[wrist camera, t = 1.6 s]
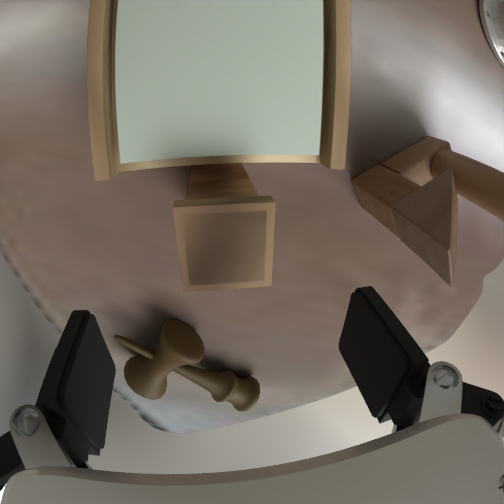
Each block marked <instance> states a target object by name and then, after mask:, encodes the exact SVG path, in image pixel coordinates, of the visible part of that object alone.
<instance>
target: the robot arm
mask: <svg viewBox="0 0 504 504" xmlns="http://www.w3.org/2000/svg"><path fill="white" fill-rule="evenodd" d="M479 10H480V17H481V22H482V26H483V29H484V32H485V35H486V38H487V40H488V42H489V45H490V47H491V49H492V51H493V52H494V54H495V56H496V57H497V59H498V60H499V62H500V63H501V64H502V65H503V67H504V0H480V2H479ZM339 350H340V353H341V355H342V357H343V359H344V361H345V362H346V364H347V366H348V368H349V370H350V372H351V374H352V376H353V378H354V380H355V382H356V384H357V386H358V388H359V390H360V392H361V394H362V396H363V398H364V400H365V402H366V404H367V406H368V408H369V410H370V412H371V414H372V416H373V417H375V418H376V417H377V419H378V421H379V423H382V422H385V421H388V420H391V419H392V421H393V423H394V426H393V430H392V433H391V434H390V435H387V436H384V437H381V438H378V439H375V440H372V441H369V442H366V443H363V444H360V445H357V446H353V447H350V448H347V449H344V450H340V451H336V452H333V453H330V454H325V455H322V456H317V457H314V458H309V459H304V460H300V461H295V462H290V463H285V464H280V465H274V466H268V467H261V468H254V469H247V470H238V471H229V472H218V473H202V474H140V473H124V472H110V471H100V470H93V469H92V468H91V466H90V465H89V463H88V462H87V461H88V454H90V455H98V456H99V455H100V449H102V448H104V445H105V437H106V429H107V422H108V414H109V407H110V401H111V395H112V389H113V384H114V378H115V372H116V369H115V364H114V362H113V359H112V357H111V355H110V353H109V350H108V348H107V346H106V343H105V341H104V338H103V336H102V334H101V331H100V329H99V326H98V323H97V321H96V318H95V316H94V315H93V314H90V312H89V311H88V310H74V311H73V312H72V313H71V315H70V318H69V320H68V322H67V324H66V327H65V329H64V331H63V334H62V336H61V339H60V341H59V344H58V346H57V348H56V349H55V351H54V354H53V356H52V359H51V361H50V364H49V367H48V369H47V372H46V375H45V378H44V381H43V384H42V387H41V389H40V393H39V396H38V399H37V402H36V405H35V406H34V405H31V404H26V405H22V406H20V407H18V408H17V409H16V410H15V411H14V412H13V414H12V415H11V418H10V421H9V428H10V431H9V432H7V433H5V434H4V435H2V436H1V437H0V504H504V401H503V399H502V398H501V397H500V396H499V395H498V394H497V393H495V392H493V391H490V390H487V389H483V388H480V387H477V386H474V385H471V384H468V383H465V382H463V381H462V375H461V373H460V371H459V370H458V369H457V368H456V367H455V366H454V365H452V364H450V363H448V362H443V361H440V362H435V363H433V364H432V365H430V364H429V363H428V361H429V360H428V358H427V357H426V355H425V354H424V353H423V351H422V350H421V348H420V347H419V346H418V344H417V343H416V342H415V340H414V339H413V338H412V336H411V335H410V334H409V332H408V331H407V330H406V328H405V327H404V326H403V325H402V323H401V322H400V321H399V319H398V318H397V317H396V315H395V314H394V313H393V312H392V310H391V309H390V308H389V307H388V305H387V304H386V303H385V302H384V300H383V299H382V298H381V297H380V295H379V294H378V293H377V292H376V290H375V289H374V288H373V287H372V286H368V287H361V288H357V289H356V290H355V292H353V293H352V295H351V298H350V302H349V307H348V311H347V315H346V318H345V322H344V326H343V330H342V334H341V337H340V341H339Z"/></svg>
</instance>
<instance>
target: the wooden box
mask: <svg viewBox="0 0 504 504" xmlns="http://www.w3.org/2000/svg"><path fill="white" fill-rule="evenodd" d="M117 8H118V0H91V2H90V11H89V24H88V41H87V99H88V117H89V131H90V142H91V151H92V160H93V168H94V175H95V181H100V180H107V179H111V178H112V177H113V176H114V175H115V174H116V173H117V172H122V171H131V170H140V169H150V168H161V167H172V166H186V165H202V164H222V163H254V162H304V163H321V164H323V165H325V166H326V167H328V168H330V169H343V170H345V159H346V148H347V136H348V122H349V105H350V82H351V6H350V0H323V89H322V114H321V133H320V149H319V155H279V154H266V155H222V156H201V157H186V158H172V159H161V160H150V161H141V162H132V163H123V164H120V154H119V143H118V130H117V114H116V90H115V45H116V22H117Z"/></svg>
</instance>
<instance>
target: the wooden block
mask: <svg viewBox="0 0 504 504" xmlns="http://www.w3.org/2000/svg"><path fill="white" fill-rule="evenodd" d="M352 184H353V186H354V188H355V191H356V193H357V196H358V198H359V201H360V203H361V206H362V208H363V209H365V210H366V211H367V212H368V213H370V214H371V215H372V216H373V217H374V218H376V219H377V220H378V221H379V222H380V223H382V224H383V225H384V226H385V227H386V228H388V229H389V230H390V231H391V232H392V233H393V234H395V235H396V236H397V237H398V238H400V239H401V241H402V242H403V243H405V244H406V245H407V246H408V247H409V248H410V249H411V250H412V251H414V252H415V253H416V254H417V255H418V256H419V257H420V258H421V259H422V260H423V261H424V262H426V263H427V264H428V265H429V266H430V267H431V268H432V269H433V270H434V271H435V272H436V273H437V274H438V275H439V276H440V277H441V278H442V279H443V280H444V281H445V282H446V283H447V284H448V285H449V286H450V287H452V286H453V284H454V275H455V264H456V251H457V231H458V199H457V194H459V195H460V196H462V197H464V198H466V199H467V200H469V201H471V202H473V203H474V204H476V205H478V206H479V207H481V208H483V209H484V210H486V211H488V212H489V213H491V214H492V215H494V216H496V217H497V218H499V219H500V220H502V221H503V222H504V173H503V172H501V171H499V170H497V169H495V168H492V167H490V166H488V165H485V164H483V163H481V162H478V161H476V160H474V159H471V158H469V157H466V156H464V155H461V154H458V153H456V152H453V151H451V147H450V144H449V142H447V141H444V140H441V139H437V138H434V137H431V136H427V137H425V138H423V139H422V140H420V141H418V142H416V143H415V144H413V145H411V146H409V147H408V148H406V149H404V150H402V151H401V152H399V153H397V154H395V155H394V156H392V157H390V158H388V159H387V160H385V161H383V162H382V163H381V165H376V166H374V167H373V168H371V169H369V170H367V171H366V172H364V173H362V174H360V175H359V176H357V177H355V178H354V179H353V180H352Z"/></svg>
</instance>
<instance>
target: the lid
mask: <svg viewBox="0 0 504 504" xmlns="http://www.w3.org/2000/svg"><path fill="white" fill-rule="evenodd" d="M322 89H323V0H118V8H117V22H116V45H115V90H116V114H117V130H118V143H119V154H120V164H123V163H132V162H141V161H150V160H161V159H172V158H186V157H201V156H222V155H266V154H279V155H319V149H320V133H321V114H322Z"/></svg>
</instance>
